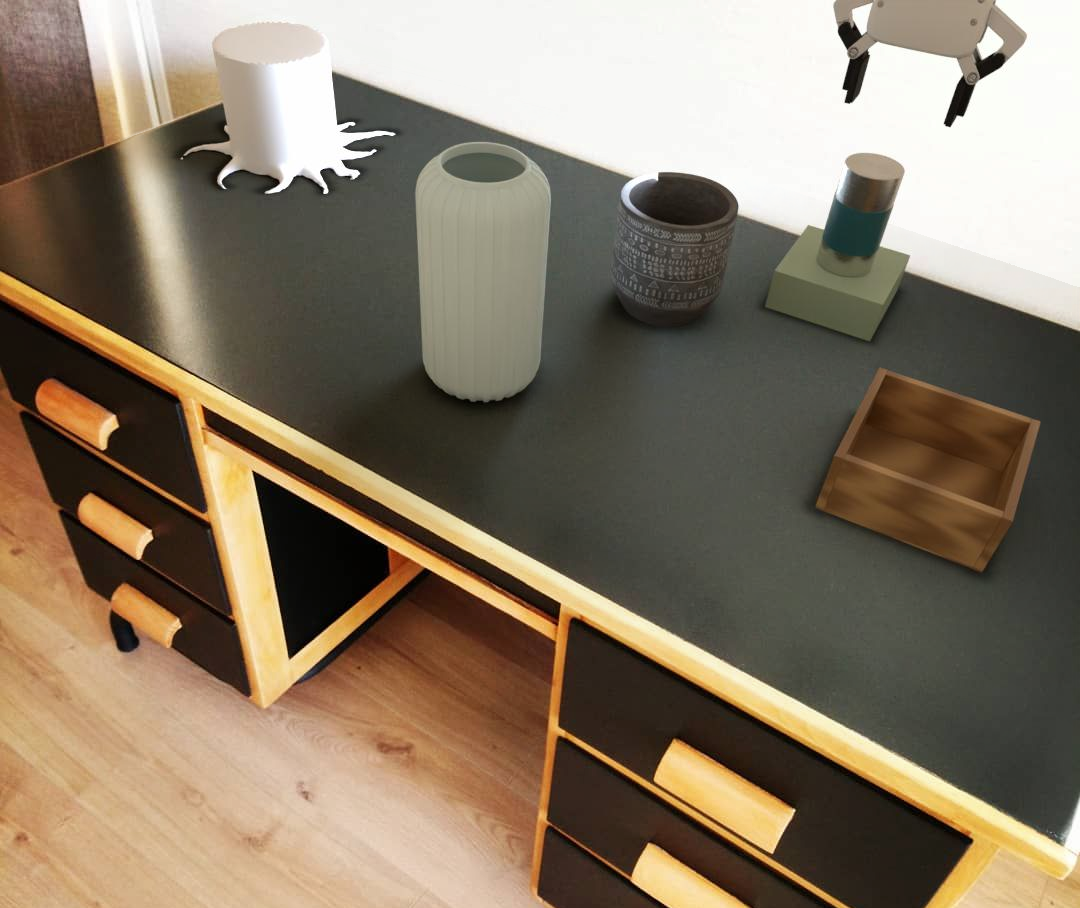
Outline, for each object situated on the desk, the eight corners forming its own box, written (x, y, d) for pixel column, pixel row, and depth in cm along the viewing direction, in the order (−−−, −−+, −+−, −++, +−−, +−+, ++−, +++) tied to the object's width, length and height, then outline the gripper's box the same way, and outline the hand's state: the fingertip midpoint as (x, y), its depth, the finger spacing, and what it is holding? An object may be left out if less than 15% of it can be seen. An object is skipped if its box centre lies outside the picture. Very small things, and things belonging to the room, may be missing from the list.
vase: (508, 335, 99) (516, 124, 83) (558, 398, 92) (577, 181, 76) (406, 360, 95) (393, 143, 79) (450, 427, 88) (446, 205, 72)
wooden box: (1009, 475, 88) (1040, 421, 83) (979, 575, 79) (1013, 521, 74) (858, 421, 92) (879, 367, 87) (813, 510, 83) (834, 455, 78)
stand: (895, 294, 109) (910, 255, 105) (868, 344, 101) (883, 304, 98) (797, 263, 112) (808, 224, 109) (763, 310, 105) (774, 270, 101)
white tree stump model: (304, 215, 114) (288, 98, 104) (145, 165, 121) (115, 50, 110) (411, 139, 130) (406, 31, 120) (265, 98, 136) (249, -7, 126)
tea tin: (877, 258, 104) (911, 162, 96) (863, 283, 101) (897, 185, 93) (825, 242, 106) (854, 146, 98) (808, 266, 102) (837, 168, 94)
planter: (718, 286, 108) (742, 179, 99) (712, 346, 100) (736, 236, 90) (614, 271, 109) (627, 164, 100) (599, 329, 101) (612, 218, 91)
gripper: (1077, -90, 78) (997, 117, 91) (874, -121, 84) (825, 78, 96) (1065, -70, 74) (983, 145, 86) (850, -104, 79) (802, 103, 92)
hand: (899, 110), depth 91 cm, fingers open, 9 cm apart
